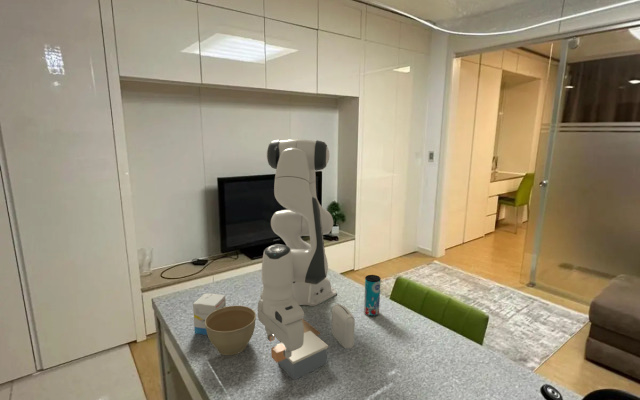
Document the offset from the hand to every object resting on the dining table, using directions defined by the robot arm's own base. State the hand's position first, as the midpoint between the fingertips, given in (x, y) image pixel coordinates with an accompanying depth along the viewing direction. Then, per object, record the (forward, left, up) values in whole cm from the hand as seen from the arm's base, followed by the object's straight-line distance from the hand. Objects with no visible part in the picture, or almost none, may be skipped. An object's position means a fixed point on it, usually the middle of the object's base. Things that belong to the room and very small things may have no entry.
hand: (279, 347), depth 96 cm
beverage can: (-47, -9, -10) cm, 49 cm away
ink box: (+8, -36, -10) cm, 38 cm away
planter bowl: (+6, -21, -10) cm, 24 cm away
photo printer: (-26, -2, -10) cm, 28 cm away
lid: (-7, 0, -4) cm, 8 cm away
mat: (-15, -15, -9) cm, 24 cm away
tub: (-8, 0, -9) cm, 13 cm away
